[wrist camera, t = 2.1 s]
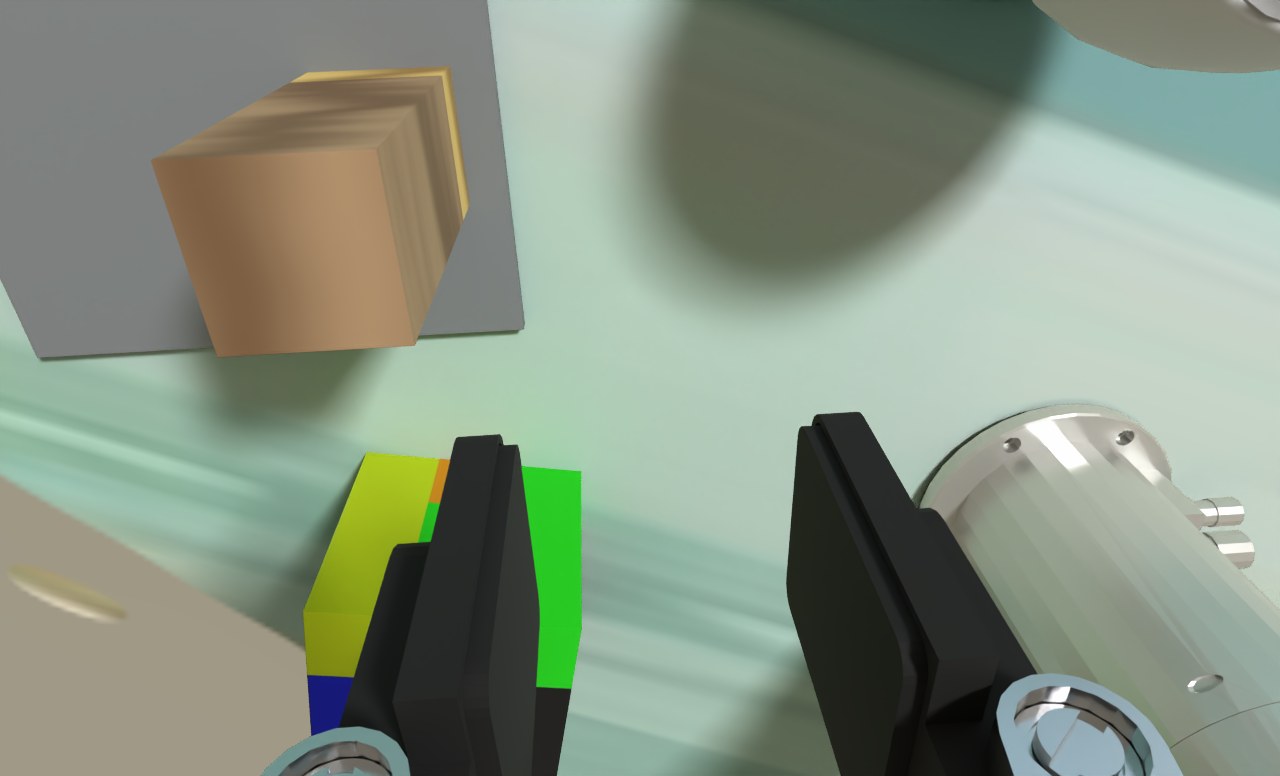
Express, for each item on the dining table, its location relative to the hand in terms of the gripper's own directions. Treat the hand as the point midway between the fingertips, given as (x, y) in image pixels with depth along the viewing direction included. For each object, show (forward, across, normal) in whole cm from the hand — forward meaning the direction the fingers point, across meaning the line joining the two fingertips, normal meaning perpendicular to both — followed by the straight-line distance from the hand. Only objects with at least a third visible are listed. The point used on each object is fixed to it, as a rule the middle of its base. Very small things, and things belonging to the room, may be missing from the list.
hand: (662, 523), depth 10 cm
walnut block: (+23, +8, 0) cm, 24 cm away
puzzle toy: (+24, +8, +20) cm, 32 cm away
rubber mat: (+23, +14, 0) cm, 27 cm away
